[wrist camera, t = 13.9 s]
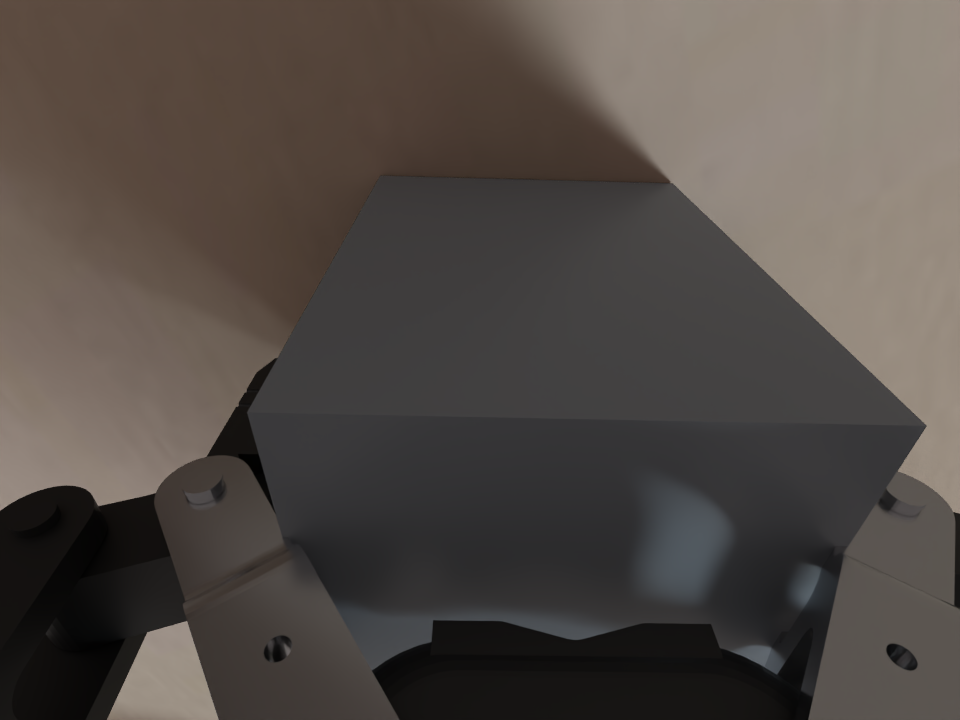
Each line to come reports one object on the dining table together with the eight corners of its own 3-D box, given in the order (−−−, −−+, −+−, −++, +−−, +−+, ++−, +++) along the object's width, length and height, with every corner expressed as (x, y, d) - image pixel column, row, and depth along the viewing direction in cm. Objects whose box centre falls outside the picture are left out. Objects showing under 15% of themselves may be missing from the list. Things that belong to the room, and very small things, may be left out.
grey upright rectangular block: (672, 183, 13) (926, 425, 6) (621, 409, 17) (731, 726, 9) (380, 175, 13) (247, 412, 5) (397, 405, 17) (334, 721, 9)
